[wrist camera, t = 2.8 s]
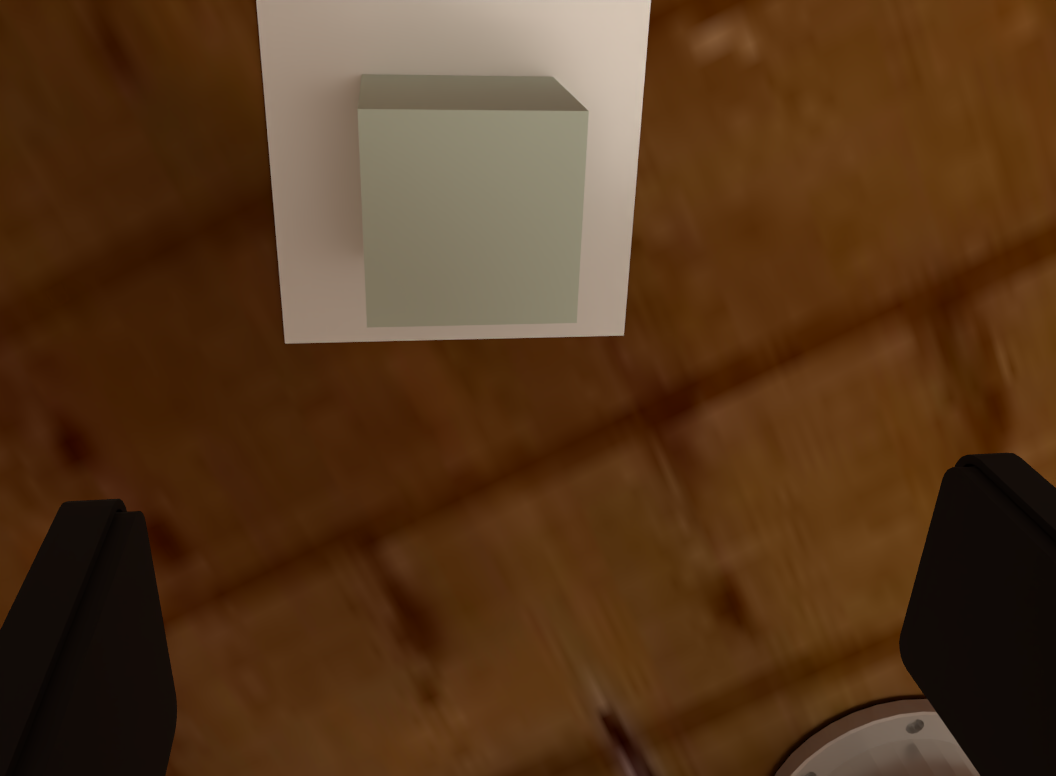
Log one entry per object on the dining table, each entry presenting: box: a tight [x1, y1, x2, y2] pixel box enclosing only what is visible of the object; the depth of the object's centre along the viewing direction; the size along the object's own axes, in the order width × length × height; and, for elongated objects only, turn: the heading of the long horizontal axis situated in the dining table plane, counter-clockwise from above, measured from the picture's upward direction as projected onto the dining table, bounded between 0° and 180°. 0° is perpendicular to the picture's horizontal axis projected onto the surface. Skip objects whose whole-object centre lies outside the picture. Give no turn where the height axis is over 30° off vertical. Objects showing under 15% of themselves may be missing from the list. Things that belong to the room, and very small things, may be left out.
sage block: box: [357, 74, 589, 328], centre depth 29 cm, size 6×6×6 cm
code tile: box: [256, 0, 651, 344], centre depth 32 cm, size 12×12×1 cm
